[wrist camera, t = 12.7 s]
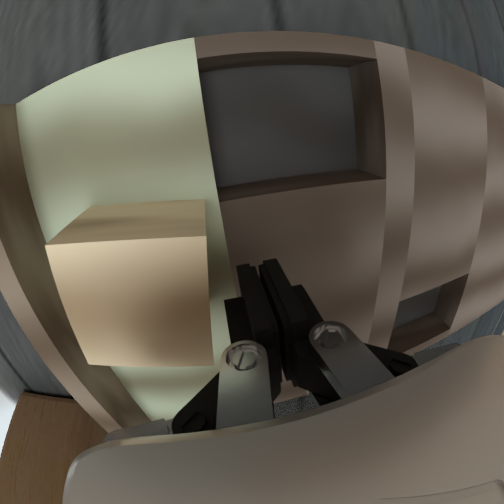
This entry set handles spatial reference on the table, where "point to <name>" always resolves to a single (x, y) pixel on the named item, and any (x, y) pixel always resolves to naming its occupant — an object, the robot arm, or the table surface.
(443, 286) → the board
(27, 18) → the table surface
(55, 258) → the birch block
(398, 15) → the table surface
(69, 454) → the block
